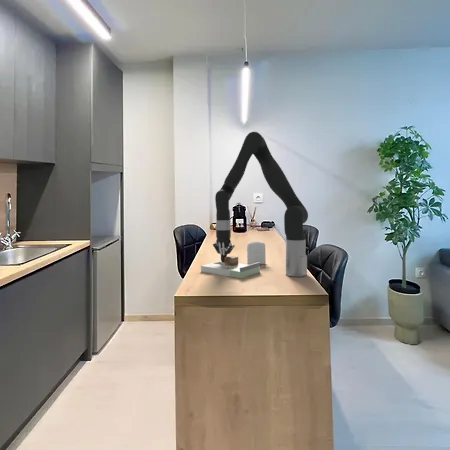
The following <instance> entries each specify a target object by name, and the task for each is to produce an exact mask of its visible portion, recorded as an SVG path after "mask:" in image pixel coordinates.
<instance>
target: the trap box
mask: <svg viewBox="0 0 450 450" xmlns="http://www.w3.org/2000/svg"><path fill="white" fill-rule="evenodd" d="M200 272H201V273H206V274H213V275H218V276H226V277H229V278H231V277H232V278H236V279H243V278H247V277H250V276H252V275H256V274H259V273H260V272H261V264H260V262H257V263H254V264H250V265H249V264H244V263H240V262H238V265H235V266H228V265H225V262H221V260H220V261H214V262H211V263H207V264H203V265H200Z"/></svg>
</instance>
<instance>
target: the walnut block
mask: <svg viewBox="0 0 450 450" xmlns="http://www.w3.org/2000/svg"><path fill="white" fill-rule="evenodd" d="M224 259H225V265H228V266H235V265H238V263H239V256H234V255H229V256H228V255H227V257H224Z"/></svg>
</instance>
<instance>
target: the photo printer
mask: <svg viewBox="0 0 450 450" xmlns="http://www.w3.org/2000/svg"><path fill="white" fill-rule="evenodd" d="M246 246H247V247H246V251H247V253H246V254H247V255H246V258H247V261H246V263H247V265H250V264H254V263H257V262H260V265H265V264H266V262H267V261H266V243H265V242H262V241H251V242H248V243H247V245H246Z"/></svg>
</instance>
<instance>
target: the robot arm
mask: <svg viewBox="0 0 450 450" xmlns="http://www.w3.org/2000/svg"><path fill="white" fill-rule="evenodd" d="M253 155H254V157H255V159H256V160H257V162H258V163H259V166H260V169H261V171H262V175H263V176H264V179H265V181H266V183H267V185H268V186H269V189H270V190H271V191H272V192H273V193H274V194H275V195H276V196H277V197H278V198H279V199H280V200H281V201H282V203H283V204H284V205H285V207H286V210H285V211H284V216H283V223H284V225H283V226H284V228H283V229H284V234H285V275H286V276H289V277H300V278H301V277H304V276H307V275H308V254H306V248H307V247H306V243H307V242H306V241H307V239H306V233H305V231H304V224H305V223H306V222H307V221H308V218H309V213H308V210H307V208H306V207H305V205H304V204H303V202H302V201H301V200H300V199H299V197H298V196H297V194H296V192H295V190H294V189H293V187H292V184H290V182H289V180H288V178H287V176H286V175H285V173H284V170H282V167H280V164H279V162H277V161H276V159H275V158H274V157H273V155H272V152H271V151H270V150H269V147H268V144H267V141H266V140H265V138H264V136H262V134H261V133H259V132H257V131H251V132H249V133H247V135H246V136H245V138H244V140H243V142H242V146H241V148H240V150H239V153H238V155H237V157H236V159H235V162H234V164H233V165H232V167H231V169H230V170H229V172H228V174H227V175H226V177H225V179H224V182H223V184H222V186H221V188H220V189H219V190H218V191H216V193H215V197H214V200H215V208H216V210H215V211H216V219H215V220H216V221H215V238H216V241H215V242H214V243H213V244H212V246H213V248H214V249H215V251H216V253H217V254H219V255H220V261H221V262H225V259H224V257H228V255H230V254H231V252H232V251H233V250H234V248H235V244H232V241H231V236H232V235H231V234H232V232H231V230H232V228H231V225H232V224H231V211H230V200H231V198H232V197H233V194H234V192H235V190H236V188H237V187H238V185H239V184H240V182H241V180H242V179H243V177H244V175H245V172H246V169H247V166H248V163H249V161H250V159H251V157H252V156H253Z"/></svg>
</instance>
